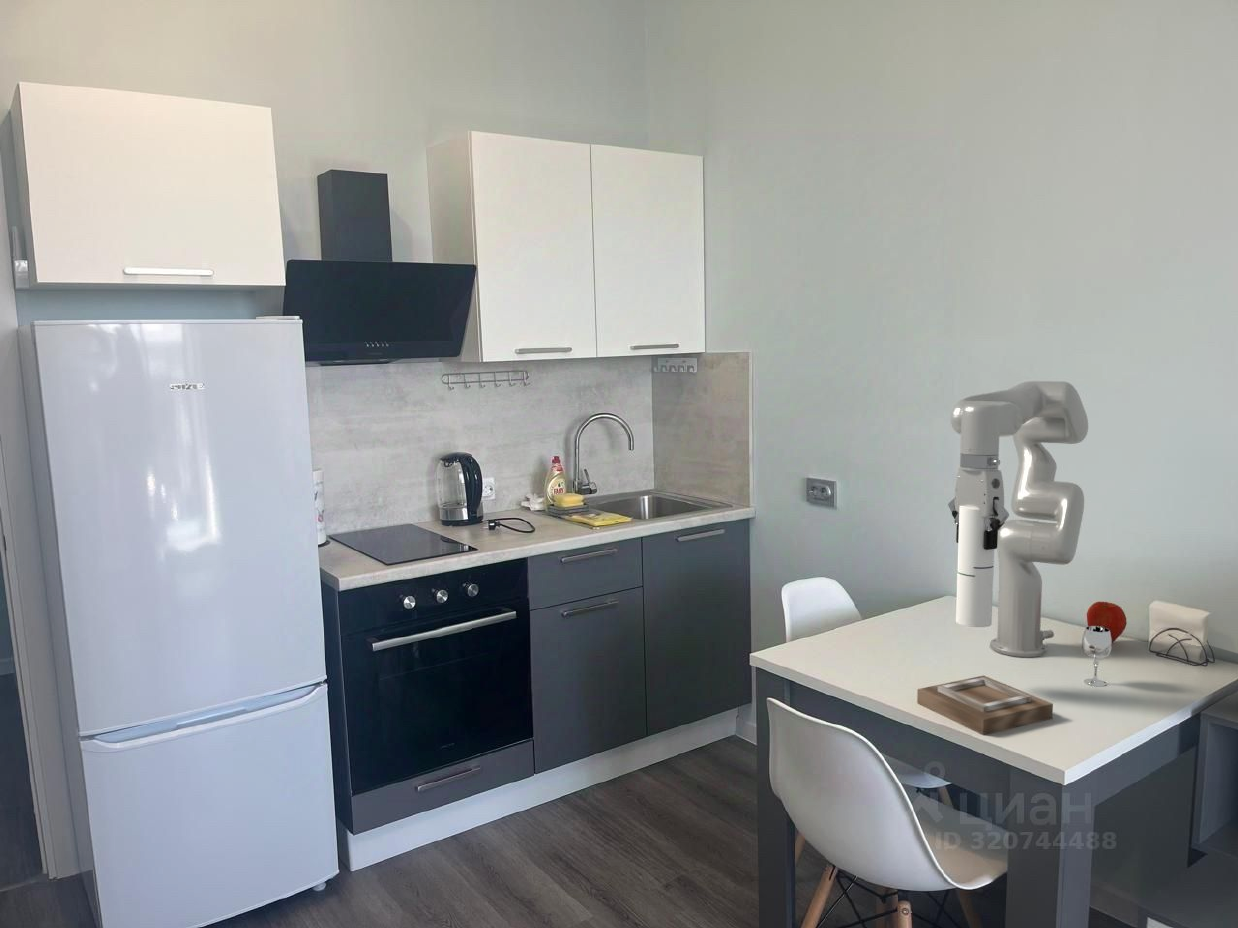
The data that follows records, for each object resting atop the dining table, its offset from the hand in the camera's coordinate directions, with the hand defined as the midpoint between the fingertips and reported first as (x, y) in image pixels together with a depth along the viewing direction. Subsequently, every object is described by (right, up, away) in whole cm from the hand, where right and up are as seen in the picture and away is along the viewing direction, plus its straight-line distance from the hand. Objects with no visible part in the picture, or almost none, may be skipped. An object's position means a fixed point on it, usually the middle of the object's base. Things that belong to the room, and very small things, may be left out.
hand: (976, 545), depth 198 cm
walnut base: (-2, -33, -9) cm, 34 cm away
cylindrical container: (0, -17, +2) cm, 17 cm away
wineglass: (+28, -31, +5) cm, 42 cm away
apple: (+43, -27, +30) cm, 59 cm away
